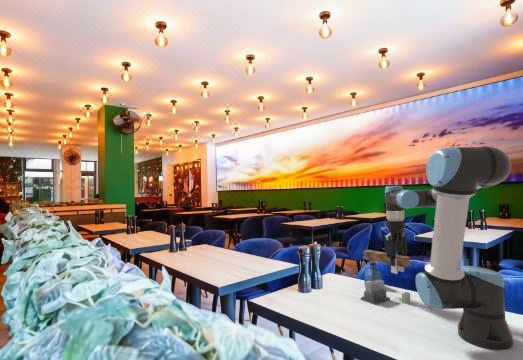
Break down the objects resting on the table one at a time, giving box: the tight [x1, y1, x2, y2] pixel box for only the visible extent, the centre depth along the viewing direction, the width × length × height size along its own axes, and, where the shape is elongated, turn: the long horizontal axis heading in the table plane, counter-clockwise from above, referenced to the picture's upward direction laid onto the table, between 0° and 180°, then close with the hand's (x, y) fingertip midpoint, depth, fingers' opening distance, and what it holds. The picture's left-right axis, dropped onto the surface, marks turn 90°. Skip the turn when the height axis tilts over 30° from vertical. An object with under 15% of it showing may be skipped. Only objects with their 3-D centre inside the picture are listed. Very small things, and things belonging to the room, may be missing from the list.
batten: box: [363, 249, 411, 268], centre depth 148 cm, size 22×4×4 cm, turn 32°
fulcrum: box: [360, 279, 391, 306], centre depth 144 cm, size 8×10×8 cm
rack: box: [364, 281, 411, 305], centre depth 148 cm, size 22×3×4 cm, turn 32°
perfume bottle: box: [363, 261, 383, 283], centre depth 163 cm, size 6×6×12 cm
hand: (397, 272), depth 143 cm, fingers closed on batten, 4 cm apart
